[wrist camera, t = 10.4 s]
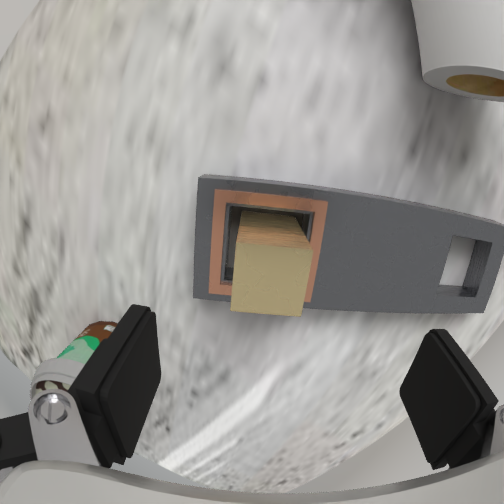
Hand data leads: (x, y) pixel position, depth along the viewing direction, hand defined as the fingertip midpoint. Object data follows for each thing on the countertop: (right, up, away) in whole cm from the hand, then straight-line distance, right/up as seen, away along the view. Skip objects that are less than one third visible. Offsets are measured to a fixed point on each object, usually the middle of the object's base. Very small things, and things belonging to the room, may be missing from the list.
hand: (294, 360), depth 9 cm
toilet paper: (+16, +22, +8) cm, 28 cm away
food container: (-18, -6, +18) cm, 26 cm away
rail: (+9, +4, +15) cm, 17 cm away
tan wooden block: (0, +5, +14) cm, 15 cm away
